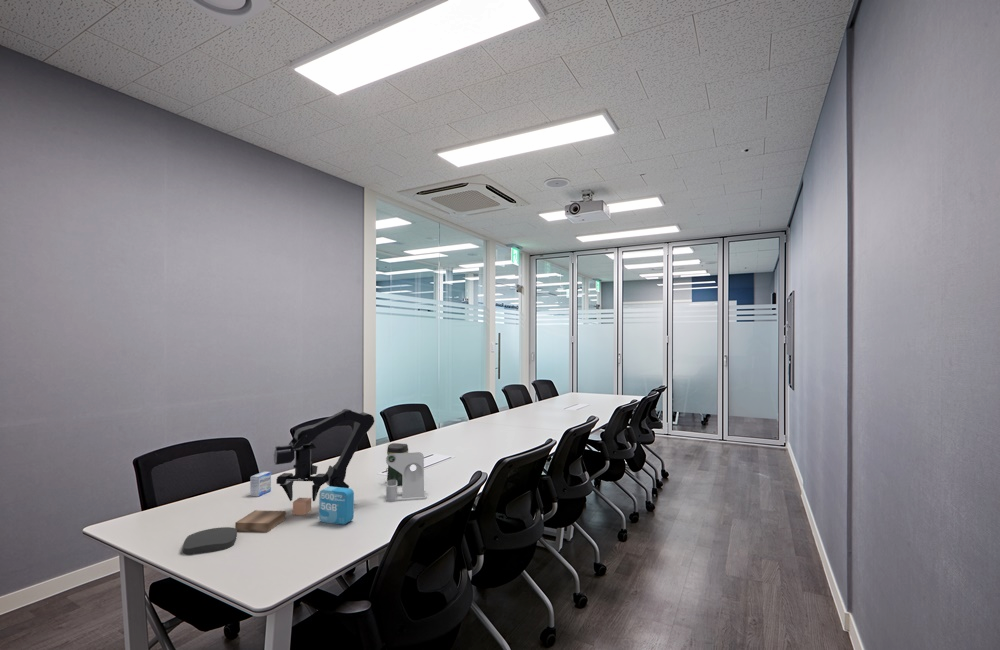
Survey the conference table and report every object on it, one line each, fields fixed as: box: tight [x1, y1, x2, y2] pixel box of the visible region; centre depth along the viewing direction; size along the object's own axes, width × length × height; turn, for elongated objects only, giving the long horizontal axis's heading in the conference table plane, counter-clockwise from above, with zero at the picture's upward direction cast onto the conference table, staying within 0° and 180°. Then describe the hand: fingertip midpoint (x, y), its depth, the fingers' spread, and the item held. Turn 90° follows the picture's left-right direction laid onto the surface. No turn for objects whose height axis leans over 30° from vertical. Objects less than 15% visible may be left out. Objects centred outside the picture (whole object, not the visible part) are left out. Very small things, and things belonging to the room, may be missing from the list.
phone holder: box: [385, 451, 428, 503], centre depth 203 cm, size 17×10×18 cm, turn 102°
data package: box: [318, 485, 355, 526], centre depth 175 cm, size 12×4×12 cm, turn 74°
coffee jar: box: [386, 442, 409, 486], centre depth 223 cm, size 10×8×19 cm
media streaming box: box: [182, 526, 238, 556], centre depth 156 cm, size 15×15×3 cm
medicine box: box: [249, 471, 272, 497], centre depth 207 cm, size 8×4×9 cm, turn 168°
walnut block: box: [234, 509, 287, 533], centre depth 172 cm, size 12×12×3 cm
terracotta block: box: [292, 497, 312, 516], centre depth 184 cm, size 5×5×5 cm
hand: (302, 500), depth 184 cm, fingers open, 9 cm apart
